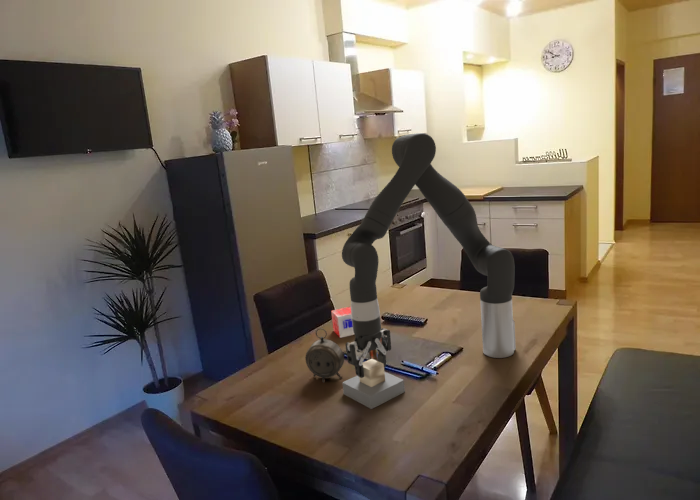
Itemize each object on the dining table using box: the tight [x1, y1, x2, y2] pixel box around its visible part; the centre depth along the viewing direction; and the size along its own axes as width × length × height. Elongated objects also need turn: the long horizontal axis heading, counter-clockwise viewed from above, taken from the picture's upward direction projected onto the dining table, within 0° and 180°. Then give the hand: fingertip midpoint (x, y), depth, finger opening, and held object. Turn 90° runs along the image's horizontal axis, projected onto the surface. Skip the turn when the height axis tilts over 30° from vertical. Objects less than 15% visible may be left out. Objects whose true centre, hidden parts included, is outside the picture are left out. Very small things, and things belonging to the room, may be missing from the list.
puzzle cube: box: [330, 306, 355, 338], centre depth 190 cm, size 8×8×8 cm
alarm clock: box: [305, 327, 345, 383], centre depth 153 cm, size 11×5×16 cm, turn 71°
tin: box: [368, 338, 382, 361], centre depth 166 cm, size 15×3×8 cm, turn 168°
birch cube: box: [359, 358, 386, 387], centre depth 143 cm, size 5×5×5 cm
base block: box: [342, 371, 406, 410], centre depth 144 cm, size 12×12×4 cm
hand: (371, 371), depth 143 cm, fingers open, 7 cm apart
